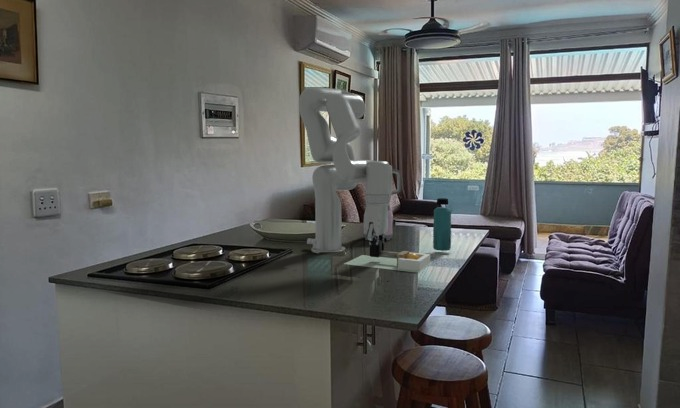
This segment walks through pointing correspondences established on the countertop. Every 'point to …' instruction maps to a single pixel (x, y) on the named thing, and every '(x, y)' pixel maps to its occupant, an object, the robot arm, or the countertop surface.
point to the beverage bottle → (442, 226)
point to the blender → (390, 215)
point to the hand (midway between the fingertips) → (376, 255)
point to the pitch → (378, 263)
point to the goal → (414, 262)
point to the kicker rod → (393, 253)
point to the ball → (412, 256)
